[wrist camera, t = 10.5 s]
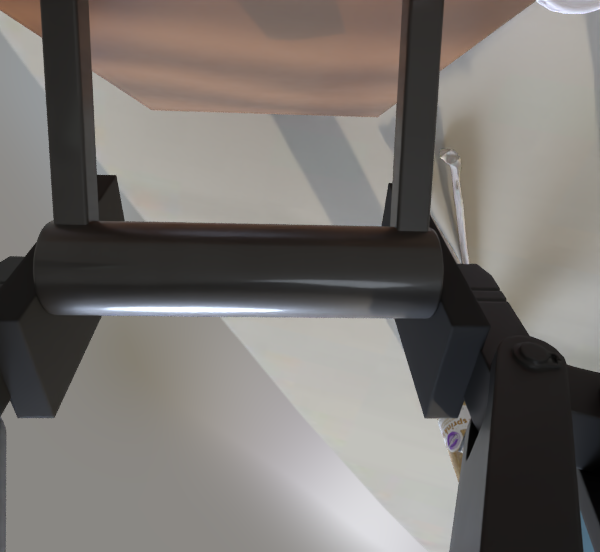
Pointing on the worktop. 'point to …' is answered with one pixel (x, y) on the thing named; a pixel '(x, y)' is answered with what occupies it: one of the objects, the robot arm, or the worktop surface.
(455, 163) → the tweezers
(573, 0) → the smoothie
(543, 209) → the worktop surface
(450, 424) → the sprinkles bottle
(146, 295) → the wooden panel
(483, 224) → the worktop surface
